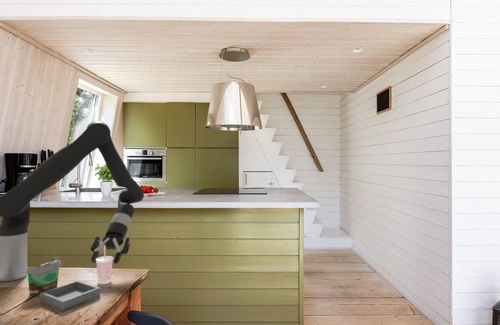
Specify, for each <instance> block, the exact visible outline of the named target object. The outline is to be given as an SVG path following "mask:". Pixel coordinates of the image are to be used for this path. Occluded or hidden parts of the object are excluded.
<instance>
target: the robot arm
mask: <svg viewBox="0 0 500 325" xmlns="http://www.w3.org/2000/svg"><path fill="white" fill-rule="evenodd" d="M96 149H98V151H99V152H100V154H101V156H102V158H103V160H104V163H105V165H106V167H107V169H108V171H109V174H110V175H111V178H112V179H113V181H114V183H115V185H116V186H117V187H119V188H125V189H123V190H121V191H120V192H119V194H118V201H117V208H116V210H115V213H114V215H113V216H112V217H111V221H110V222H109V224H108V227H107V230H106V232H105V235H104V237H102V238H101V237H100V236H96V237H95V239H94V241H93V242H92V245H91V247H90V250H91V252H92V257H91V262H92V264H97V262H96V258H98V257H100V254H101V253H103V252H104V245H106V249H105V251H106V250H116V251H117V252H116V253H115V256H114V257H113V261H112V263H113V264H114V265H117V264H118V263H119V262H120V260H121V257H122V256H123V255H127V254H128V253H129V250H130V246H131V243H132V241H131V239H130V237H126V235H127V233H128V230H129V228H130V224H131V220H132V218H133V216H134V213H135V207H134V206H133V205H132V204H135V203H140V202H142V201H143V199H144V195H145V194H144V190H143V189H142V187H141V186H140V185H139V183H138V182H136V181H135V179H134V178H133V177H132V176H131V173H130V172H129V170H128V168H127V166H126V164H125V162H124V161H123V158H122V156H120V154H119V152H118V150H117V148H116V147H115V144H114V142H113V138H112V136H111V129H110V127H109V125H108V124H107V123H105V122H103V121H101V120H94V121H91V122H89V124H88V125H87V127H86V129H85V130H84V131H83V132H82V133H81V134H79V136H78V137H76V139H75V140H74V141H73V142H71V143H70V144H68V145H66V146H64V147H63V148H61V149H60V150H58V151H56V152H54V153H52V155H51V156H50V157H48V158H47V159H46V160H45V161H43V162H42V163H41V164H40V165H39V166H37V167H36V168H35V169H34V170H33V171H32V172H31V173H30V174H29V175H28V176H27V177H26V178H25V179H24V180H23V181H21V182H20V183H18V184H17V185H15V186H14V187H13V188H11V189H10V190H9V191H7V192H6V193H4V194H2V195H1V196H0V217H1V218H2V220H1V222H0V282H11V281H12V282H13V281H16V280H20V279H23V278H25V277H26V276H28V274H26V271H27V267H28V228H29V225H30V216H31V201H32V200H34V198H36V197H37V196H38V195H39V194H41V193H42V192H45V191H46V190H48V189H50V188H51V187H52V186H54V185H55V184H57V183H58V182H60V181H61V180H62V179H64V178H66V176H68V174H70V173H71V172H72V171H73V170H74V169H75V168H76V167H77V166H78V165H79V164H80V163H81V162H82V161H83V160H84V159H85V158H86V157H87V156H88V155H89V154H91V153H92V152H94V151H95V150H96ZM122 244H124V245H123V247H122V248H121V245H122Z"/></svg>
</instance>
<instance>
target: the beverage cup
mask: <svg viewBox="0 0 500 325" xmlns="http://www.w3.org/2000/svg"><path fill="white" fill-rule="evenodd" d="M103 247H104V251H103V256H98V258H96V273H97V275H96V276H97V284H98V285H105V284H109V283H111V282H112V273H113V271H112V270H113V261H114V257H113V256H111V255H106V250H107V249H106V245H104V246H103ZM105 249H106V250H105Z"/></svg>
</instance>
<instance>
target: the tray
mask: <svg viewBox="0 0 500 325" xmlns="http://www.w3.org/2000/svg"><path fill="white" fill-rule="evenodd" d="M100 297H101V287H99V286H96V285H92V284H91V283H86V282H83V281H81V280H75V281H72V282H69V283H66V284H63V285H60V286H57V288H54V289H51V290H48V291H45V292H42V293H40V295H39V302H40V303H41V304H44V305H46V306H48V307H51V308H53V309H55V310H58V311H61V312H65V311H67V310H70V309H72V308H75V307H78V306H80V305H83V304H85V303H87V302H88V303H89V301H92V300H94V299H95V300H96V299H98V298H100Z"/></svg>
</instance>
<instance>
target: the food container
mask: <svg viewBox="0 0 500 325" xmlns="http://www.w3.org/2000/svg"><path fill="white" fill-rule="evenodd" d="M61 267H62V262H61V260H60V258H59V257H56V256H54V257H53V259H52V260H49V261H48V262H46V261H45V262H42V263H40V264H38V265H37V266H35V267H32V266H27V271H26V274H27V279H28V280H27V281H28V291H29V296H33V297H34V296H40V293H42V292H45V291H48V290H51V289H54V288H57V287H58V281H59V272H60V268H61Z"/></svg>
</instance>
